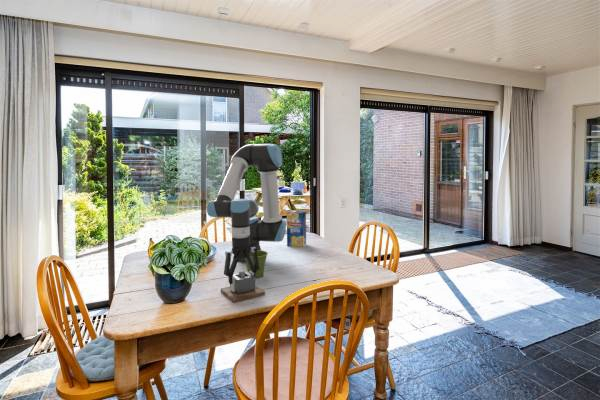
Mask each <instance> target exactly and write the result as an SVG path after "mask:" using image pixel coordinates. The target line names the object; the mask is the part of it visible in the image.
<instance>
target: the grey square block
mask: <svg viewBox="0 0 600 400" xmlns="http://www.w3.org/2000/svg"><path fill="white" fill-rule="evenodd" d="M233 276H235V292H236V293H237V294H241V293H245V292H249V291H254V290H255V285H256V278H255V276H254V275H252V274H250V273H249V272H248V271H245V277H242V278H239V272H237V273H234V274H233ZM229 287H230V289H231V284H230V283H229Z"/></svg>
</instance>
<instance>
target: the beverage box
mask: <svg viewBox="0 0 600 400" xmlns="http://www.w3.org/2000/svg"><path fill="white" fill-rule="evenodd" d="M286 246H287V247H293V248H294V247H295V248H305V246H307V211H306V210H304V211H303V210H302V211H301V210H288V211H287V212H286Z"/></svg>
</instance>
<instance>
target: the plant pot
mask: <svg viewBox="0 0 600 400" xmlns="http://www.w3.org/2000/svg"><path fill="white" fill-rule="evenodd" d="M267 255H269V253H268V251H265V250H262V249H261V250H257V257H258V262H259V268H260V269H259V270H257V272H256V273H255V275H256V278H258V279H260V278H261V277H263V276H264V273H265V267H266V261H267ZM249 256H250V259H251V261H252V263H253V265H254V262H253V257H252V252H251V251H250V253H249ZM245 260H246V258H245ZM245 264H246V270H247V272H249V271H251V269H250V267H249V265H248V263H247V261H246V262H245Z"/></svg>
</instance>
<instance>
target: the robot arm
mask: <svg viewBox="0 0 600 400" xmlns="http://www.w3.org/2000/svg"><path fill="white" fill-rule="evenodd" d="M282 154H283V153H282V150H281V148H280V146H279V145H278V144H275V143H274V144H273V143H253V144H252V143H251V144H250V143H249V144H245V145H243V146H242V147H240V148H238V150H237V151H236V152H234V154H233V155H232V157H231V159H230V161H229V165H230V166H229V168H228V170H227V172H226V175H225V177H224V179H223V181H222V185H221V187H220V189H219V191H218V193H217V196H216V198H215V199H213V200H212V199H211V200H210V201H208V202H207V205H206V212H207V213H206V214H207V215H208V216H209V217H210V218H230V219H231V246H232V248H231V250H229V251H226V250H225V252H224V254H225V255H224V256H225V262H224V268H223V275H225V276H226V277H228V278H227V279H228V284H229V285H230V284H231V290H232V291H233V292H235V276H233V274H235V271H236V268H237V265H238V263H239V262H242V263H246V261H247V263H248V265H249V267H250V269H251V271H249V273H250V274H252V275H254V276H255V279H256V278H257V277H256V275H255V273H256V272H257V270H259V269H260V268H259V262H258V257H257V250H261V251H262V248H261V245H260V242H274V243H275V242H276V243H277V242H282V241H283V240H284V238H285V235H286V231H287V221H285V220H283V216H282V215H280V207H279V192H278V191H279V190H278V189H279V188H278V174H277V173H278V171H279V170H280V167H282V165H283V155H282ZM250 167H251V168H252V167H254V168H255V167H256V171H257V173H259V174H260V187H261V199H262V212H263V213H262V214H263V215H262V216H261V218H260V217H258V216H256V215H257V214H258V212H259V211H260V210H259V208H260V207H259V204H258V202H257V201H255V200H253V199H246V198H235V197H236V195H237V192H238V190H239V187H240V184H241V182H242V178H243V177H244V174H245V172H247V170H248V169H249V168H250ZM250 251H251V252H252V257H253V262H254V265H253V263H252V261H251V259H250V256H249V253H250ZM232 256H233V257H232ZM245 258H246V260H245ZM231 261H232V262H231Z"/></svg>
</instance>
